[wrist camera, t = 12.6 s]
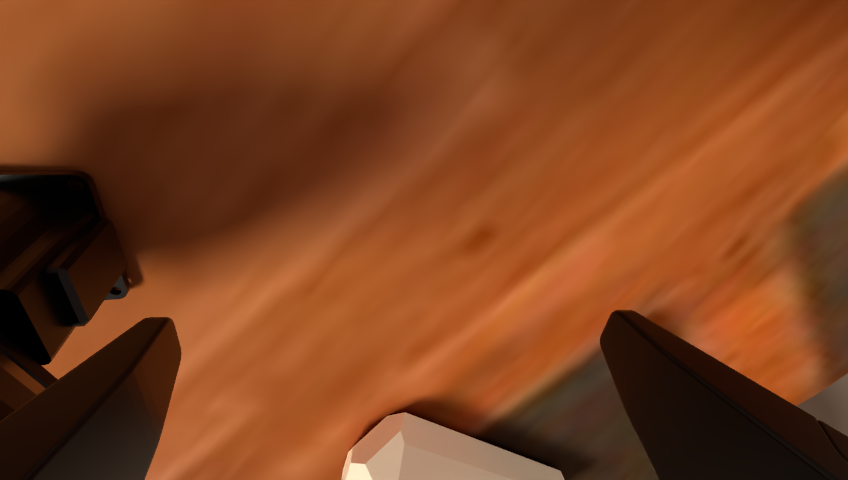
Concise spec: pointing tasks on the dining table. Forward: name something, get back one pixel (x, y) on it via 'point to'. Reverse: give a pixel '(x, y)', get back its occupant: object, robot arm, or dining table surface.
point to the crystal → (434, 455)
